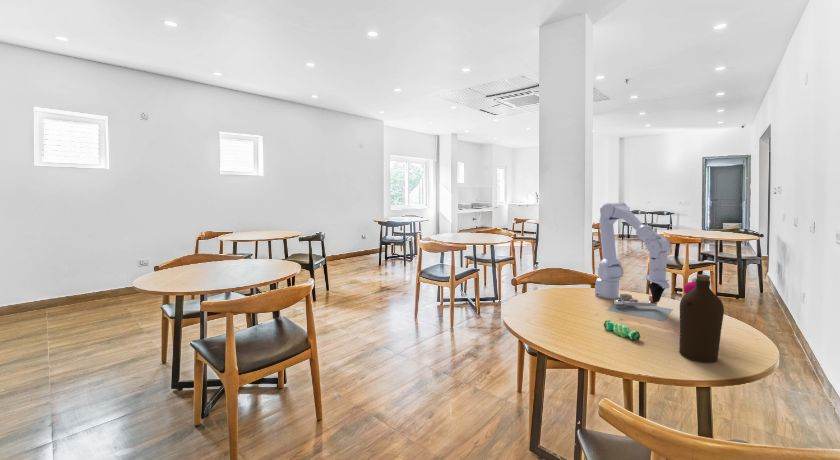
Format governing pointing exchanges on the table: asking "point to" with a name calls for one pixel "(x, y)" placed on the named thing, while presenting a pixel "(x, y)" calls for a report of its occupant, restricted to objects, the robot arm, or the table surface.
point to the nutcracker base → (641, 310)
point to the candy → (621, 330)
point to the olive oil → (700, 322)
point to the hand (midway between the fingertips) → (656, 301)
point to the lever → (635, 302)
